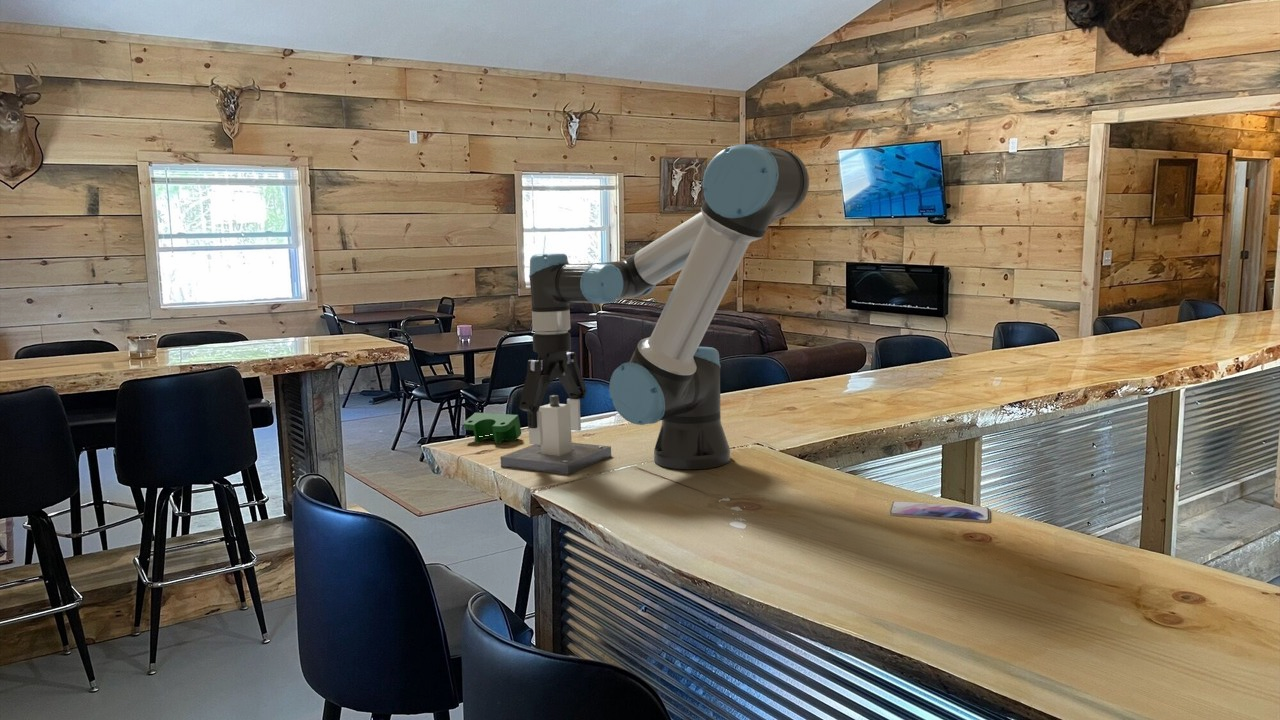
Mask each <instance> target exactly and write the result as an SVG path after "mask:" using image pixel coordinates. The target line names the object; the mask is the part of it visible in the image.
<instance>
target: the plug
mask: <svg viewBox="0 0 1280 720" xmlns="http://www.w3.org/2000/svg"><path fill="white" fill-rule="evenodd" d="M559 397H560V396H559V395H558V394H552V395H549V403H548V404H544V405H540V407H539V410H538V411H542V434H543V444H542V445H541V454H546V455H555V456H562V455H564V454H567V453H569V452H572V443H573V442H572V439H573V438H572V430H571V414H570V404H567V403H560V398H559Z"/></svg>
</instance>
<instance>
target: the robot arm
mask: <svg viewBox="0 0 1280 720" xmlns="http://www.w3.org/2000/svg"><path fill="white" fill-rule="evenodd" d="M804 163H805V162H803V160H802V159H801V158H800V157H799V156H798V155H796V154H795V153H793V152H792V151H790V150H788V149H784V148H776V147H769V146H768V147H767V146H760V145H758V144H753V143H752V144H751V143H748V144H747V143H742V144H737V145H731V146H729V147H727V148H723V150H720V151H719V152H718V153H716V155H714V156H713V158H712V159H711V160H710V161H709V163H708V164H707V166H706V168H705V170H704V173H703V177H702V189H703V197H704V200H703V203H702V204H701V207H700V212H698V213H696V214H695V215H694V216H692V217H690V218H689V219H688V220H685V221H684V222H683V223H681V224H679V225H678V226H676V227H674V228H673V229H671V230H670V231H668V232H666V233H665V234H663V235H661V236H660V237H658V238H656V239H655V240H654V241H652V242H650V243H649V244H647V245H645V246H644V247H643V248H641V249H639V250H638V251H636V252H635V253H633V254H631V255H630V256H628V257H627V258H625V259H622V260H617V261H608V262H595V263H591V262H590V263H569V260H568V255H567V254H566V253H537V254H536V253H535V254H534V255H532V256H531V257H530V259H529V275H528V278H529V285H530V286H529V287H530V288H529V289H530V301H531V322H532V323H531V324H532V331H534V332H535V333H533V335H532V350H533V352H534V353H536V354H537V360H536V359H535V360H534V359H529V360H527V364H526V365H527V366H526V367H527V369H526V370H527V372H526V376H525V379H524V385H523V387H522V393H521V396H520V401H519V404H518V408H519V410H520V411H522V412H526V414H527V415H526V417H527V427H528V441H529V444H530V445H534V444H537V445H542V444H543V434H542V411H539V407H540V406H542V402H543V399H544V397H545V394H546V393H547V390H548V388H549V385H550V384H551V383H552V382H553V380H556V379H557V378H558V381H560V384H561V385H562V387H563V388H564V390H565V392H566V394H567V395H568V397H569V398H567V399H566V404H570V414H571V431H577V432H580V431H581V430H582V425H581V424H582V422H581V411H582V410H581V399H582V400H584V399H585V398H586V394H587V387H586V385H585V381H584V379H583V376H582V373H581V369H580V367H579V364H578V357H577V352H575V351H574V352H573V351H571V349H572V338H571V337H572V336H571V335H572V334H571V333H570V332H569V331H570V330H571V313H570V312H571V311H570V303H578V304H579V303H580V304H582V303H583V304H584V303H585V304H595V305H601V304H611V303H614V302H616V301H617V300H624V299H638V298H642V297H643V296H648V295H649V294H651V293H652V292H653V291H654V289H655V288H656V286H657V285H658V284H659V283H661V282H663V281H665V280H666V279H667V278H669V277H671V276H673V275H675V274H676V273H678V272H680V273H679V275H678V277H677V280H676V282H675V284H674V286H673V288H672V290H671V293H670V294H669V296H668V299H667V301H666V303H665V305H664V307H663V310H662V311H661V313H660V316H659V317H658V320H657V321H656V324H655V326H654V329H653V330H652V333H651V335H650V336H649V337H645V338H642V339H641V340H639V342H638V343H637V345H636V347H635V350H634V352H633V354H632V356H631V358H630V360H629V361H628V362H624V363H621V365H619V366H618V367H617V368H616V369H614V371H613V372H612V375H611V376H610V380H609V385H608V387H609V388H608V390H609V397H610V398H611V400H612V404H613V407H614V408H615V410H616V412H617V414H619V415H620V417H622V419H624V420H626V421H627V422H629V423H631V424H633V425H637V426H638V425H640V426H645V425H652V424H656V423H658V422H661V425H660V429H659V432H658V437H657V439H656V442H655V445H654V446H655V447H654V448H653V449H654V451H653V459H654V460H653V461H654V463H655V464H657V465H658V466H661V467H664V468H668V469H669V468H670V469H677V470H704V469H705V470H706V469H713V468H718V467H721V466H724V465H726V464H728V463H730V461H731V450H730V445H729V442H728V440H727V436H726V434H725V430H724V428H723V424H722V421H721V415H722V414H721V369H722V368H721V366H722V365H721V364H720V353H719V350H717V348H714V347H709V346H700V344H701V343H702V340H703V339H704V337H705V334H706V332H707V330H708V328H709V326H710V325H711V322H712V320H713V318H714V316H715V315H716V312H717V310H718V308H719V305H720V304H721V302H722V300H723V298H724V296H725V294H726V292H727V290H728V288H729V285H730V283H731V281H732V280H733V278H734V275H735V274H736V272H737V270H738V269H739V268H738V267H740V264H741V262H742V260H743V258H744V256H745V254H746V253H747V250H748V248H749V246H750V244H751V243H752V242H755V241H758V240H761V239H763V237H764V236H765V233H766V231H767V229H768V227H769V225H771V224H773V223H775V222H776V221H778V220H780V219H782V218H784V217H786V216H788V215H789V214H792V213H793V212H794V211H796V210H797V209H798V208H799V207H800V206H801V205H802V204H803V202H804V201H805V200H806V197H807V195H808V193H809V192H808V191H809V188H810V187H809V186H810V176H809V173H808V169H807V167H806V165H805V164H804Z"/></svg>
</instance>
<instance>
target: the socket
mask: <svg viewBox="0 0 1280 720" xmlns="http://www.w3.org/2000/svg"><path fill="white" fill-rule="evenodd" d="M610 457H612V446H609V445H600V444H591V443H590V444H588V443H579V442H572V452H569V453H567V454H564V455H562V456H555V455H546V454H541V445H537V444H530V445H528V446H527V447H523V448H521V449H518V450H515V451H513V452H510V453H507V454H503V455H502V456H500V467H501V466H503V467H502V468H509V467H510V468H511V469H517V468H519V470H525V469H526V470H527V471H533V470H535V471H534V472H541V471H542V473H543V472H544V473H549V474H559V475H567V476H569V475H570V474H573V473H575V472H578V471H580V470H582V469H585V468H587V467H588V466H592V465H594V464H595V463H599V462H601V461H604V460H605V459H607V458H608V459H609V458H610ZM510 468H509V469H510Z"/></svg>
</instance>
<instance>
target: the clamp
mask: <svg viewBox="0 0 1280 720" xmlns="http://www.w3.org/2000/svg"><path fill="white" fill-rule="evenodd" d="M463 424H464V429H465V430H466V431H473V436H474V439H475V443H476V444H479V443H480V442H482V441H484V440H493V441H494V444H495V445H499V444H500V443H501V442H502V441H509V442H510V441H511V442H515V441H516V440H517V439H518V438H519V437H521V436H522V429H521V423H520V418H519V414H508V413H507V414H506V413H489V412H487V413H486V412H474V413H473V414H472V415H471V416H470V417H468V418H467V419H466V420H464V421H463ZM490 434H493V435H490ZM485 435H489V436H485ZM479 436H483V437H479Z"/></svg>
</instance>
